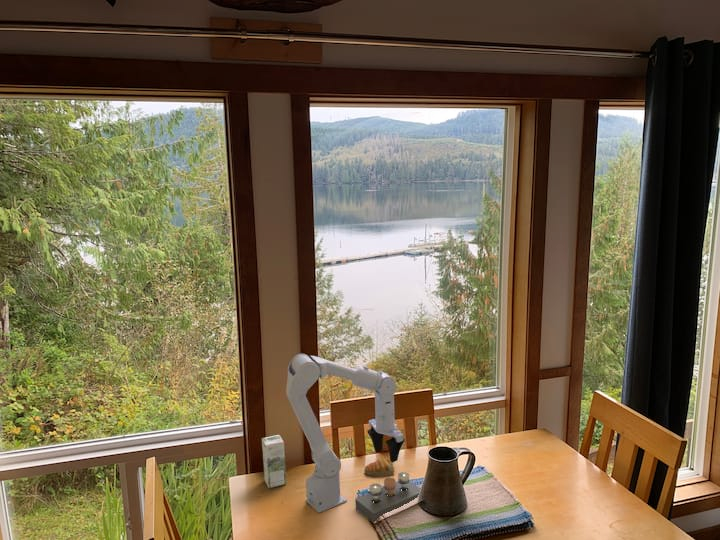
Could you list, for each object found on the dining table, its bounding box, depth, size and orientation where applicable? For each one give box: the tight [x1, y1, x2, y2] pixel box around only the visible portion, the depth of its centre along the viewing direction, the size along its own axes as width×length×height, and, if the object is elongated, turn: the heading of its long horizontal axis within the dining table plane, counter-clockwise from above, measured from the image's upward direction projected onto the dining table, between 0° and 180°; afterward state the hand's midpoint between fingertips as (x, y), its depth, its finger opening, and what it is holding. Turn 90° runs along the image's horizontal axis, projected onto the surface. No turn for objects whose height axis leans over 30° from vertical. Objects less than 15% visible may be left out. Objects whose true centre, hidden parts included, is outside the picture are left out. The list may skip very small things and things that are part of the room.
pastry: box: [364, 457, 395, 477], centre depth 171 cm, size 9×7×4 cm
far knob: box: [397, 471, 410, 492], centre depth 154 cm, size 3×3×5 cm
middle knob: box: [383, 477, 396, 498], centre depth 151 cm, size 3×3×5 cm
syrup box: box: [261, 434, 287, 490], centre depth 166 cm, size 6×6×14 cm
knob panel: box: [354, 480, 422, 523], centre depth 152 cm, size 18×9×3 cm, turn 124°
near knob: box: [369, 483, 382, 504], centre depth 149 cm, size 3×3×5 cm
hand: (386, 456), depth 161 cm, fingers open, 7 cm apart
